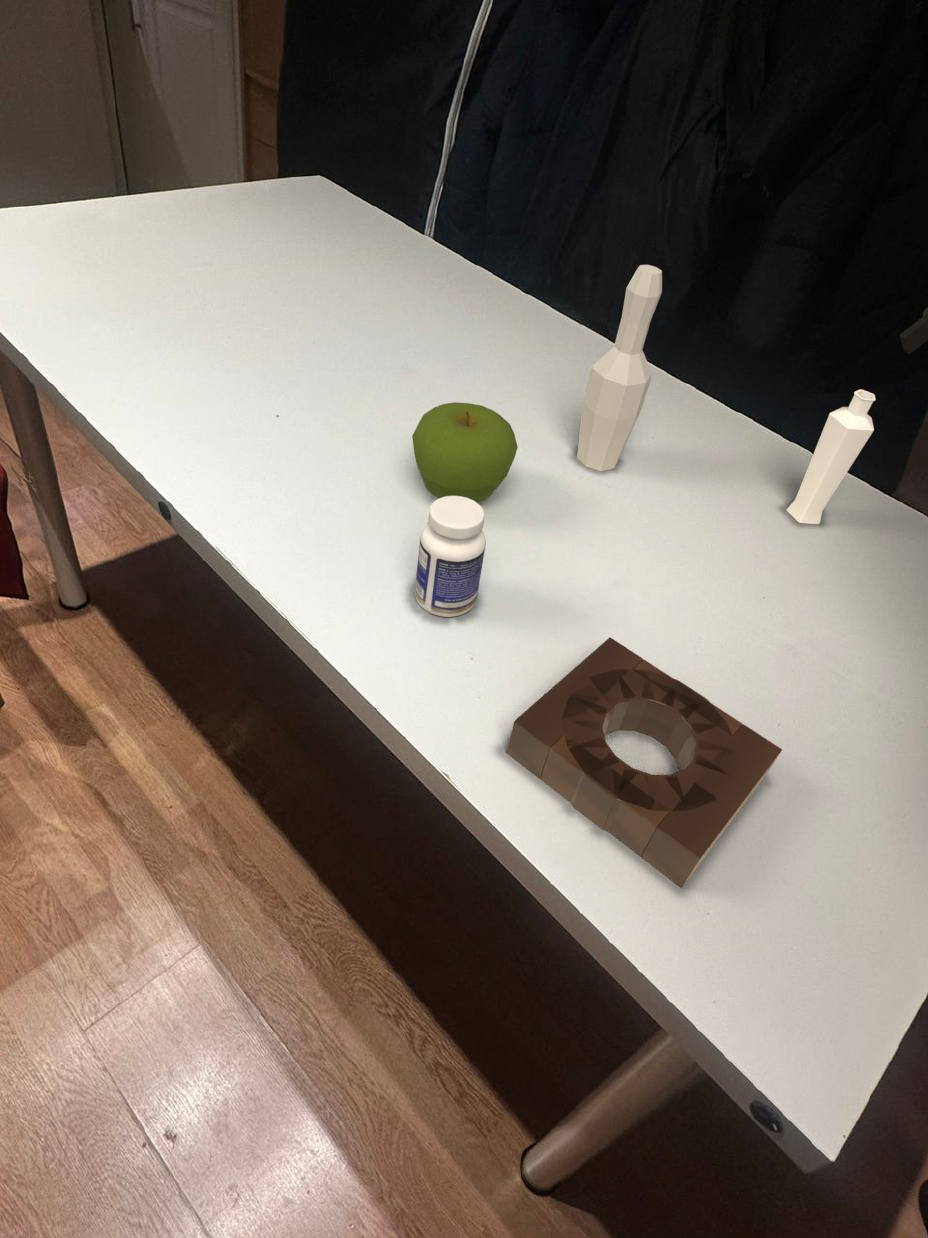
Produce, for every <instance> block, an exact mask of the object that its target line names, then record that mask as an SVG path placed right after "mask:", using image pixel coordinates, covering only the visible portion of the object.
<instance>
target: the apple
mask: <svg viewBox="0 0 928 1238" xmlns="http://www.w3.org/2000/svg"><path fill="white" fill-rule="evenodd" d="M416 425H417V426H416V428H415V430H414V431H413V433H412V436H411V438H412V447H413V453H414V459H415V462H416V467H417V470H418V472H419V474H420V478H421V480H422V482H423V485H424V487H425V489H426V490H427V491H428V492H429V493H430V494H431V495H432V496H433V497H435V498H437V499H439V498H442V497H445V496H461V497H466V498H469V499H471V500H473V501H475V502H480V501H484V500H485V499H487V498H489V497H490V496H491V495H492V494H493V493H494V492H495V491H496V490H497V489H498V487H499V486H500V485H501V484H502V483H503V482H504V481H505V480H506V478H507V476H508V474H509V471H510V469H511V467H512V465H513V463H514V461H515V458H516V455H517V451H518V447H519V446H518V444H517V439H516V436H515V433H514V430H513V428H512V426H511V423H509V422H508V420H506V419H505V418H504V417H503V416H502V415H501V414H499V413H498V412H497V411H495V410H493V409H491V408H488V407H486V406H484V405H480V404H475V403H470V402H457V401H456V402H454V401H453V402H449V403H443V404H439V405H437V406H435V407H432V408H431V409H429V410H428V411H427V412H425V413H424V414H423V415H422V417H421V418H420V420H419V422H418V424H416Z"/></svg>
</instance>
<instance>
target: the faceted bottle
mask: <svg viewBox="0 0 928 1238" xmlns="http://www.w3.org/2000/svg"><path fill="white" fill-rule="evenodd" d="M662 293H663V270H661V269H660V268H658V267H657V266H654V265H650V264H640V265H639V266H638V267H637V269H636V270H635V272H634V274H633V275H632V278H631V279H630V280H629V283H628V285H627V286H626V287H625V295H624V300H623V307H622V312H621V313H622V314H621V319H620V322H619V326H618V329H617V334H616V338H615V341H614V344H613V346H612V347H610V348H609V349H608V350H607V351H606V352H604V353H603V354H602V355H601V356H600V357H599V358H598V359H597V360H596V361H595V362H594V363H593V364H592V366H591V367H590V371H589V375H588V380H587V383H586V387H585V392H584V396H583V401H582V405H581V407H582V408H581V417H580V426H579V433H578V434H579V435H578V445H577V454H576V458H577V460H579V462H580V463H582V464H583V465H584V467H586V468H589V469H592V470H594V471H598V472H605V471H610V470H614V469H615V467H617V464H618V462H619V461H620V458H621V456H622V453H623V451H624V449H625V447H626V445H627V442H628V440H629V439H630V436H631V434H632V432H633V429H634V428H635V424H636V423H637V421H638V418H639V416H640V413H641V411H642V409H643V406H644V404H645V399H646V397H647V393H648V390H649V387H650V383H651V380H652V377H653V372H652V369H651V367H650V364H649V362H648V360H647V357H646V355H645V353H644V351H643V349H644V345H645V343H646V338H647V335H648V332H649V328H650V325H651V321H652V318H653V316H654V314H655V311H656V309H657V306H658V303H659V301H660V299H661V295H662Z"/></svg>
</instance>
